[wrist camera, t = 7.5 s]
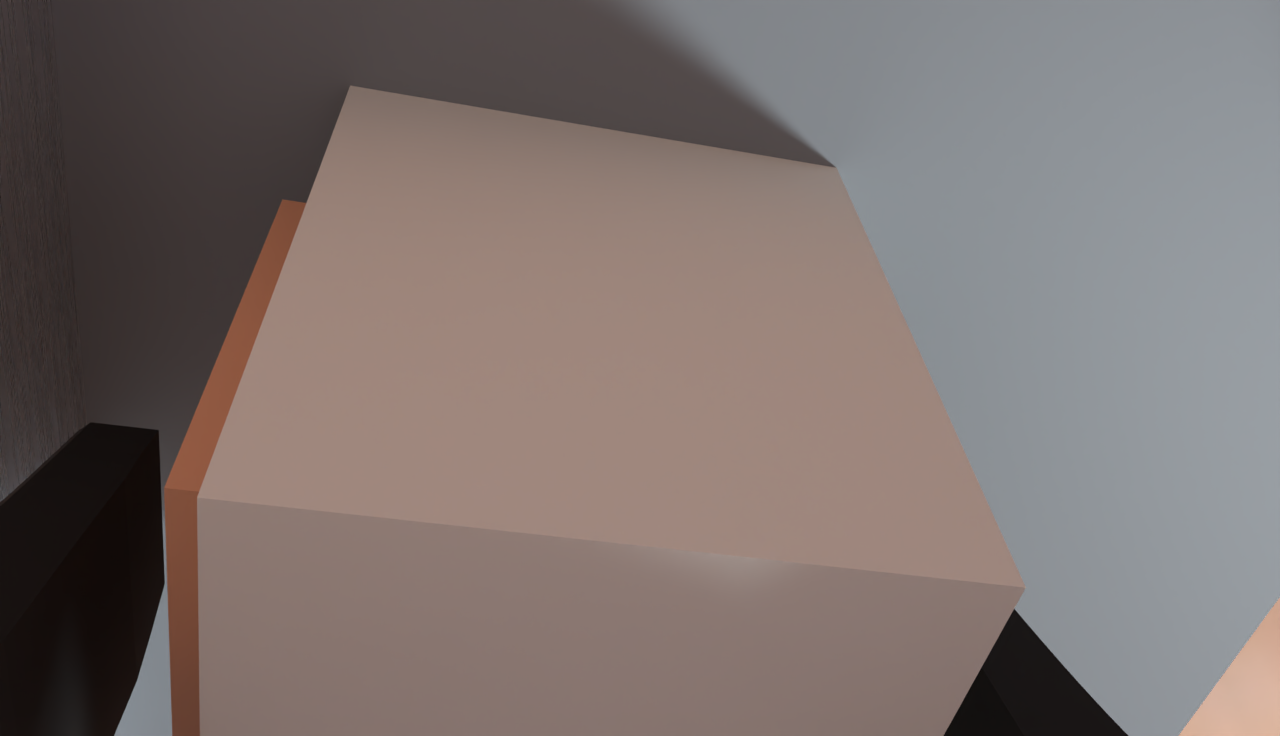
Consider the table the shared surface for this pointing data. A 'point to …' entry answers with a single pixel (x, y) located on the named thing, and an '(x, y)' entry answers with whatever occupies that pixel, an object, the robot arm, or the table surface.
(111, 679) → the robot arm
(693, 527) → the carton
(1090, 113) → the grey tray
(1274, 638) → the table surface
